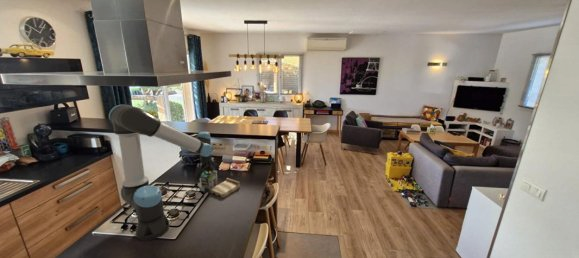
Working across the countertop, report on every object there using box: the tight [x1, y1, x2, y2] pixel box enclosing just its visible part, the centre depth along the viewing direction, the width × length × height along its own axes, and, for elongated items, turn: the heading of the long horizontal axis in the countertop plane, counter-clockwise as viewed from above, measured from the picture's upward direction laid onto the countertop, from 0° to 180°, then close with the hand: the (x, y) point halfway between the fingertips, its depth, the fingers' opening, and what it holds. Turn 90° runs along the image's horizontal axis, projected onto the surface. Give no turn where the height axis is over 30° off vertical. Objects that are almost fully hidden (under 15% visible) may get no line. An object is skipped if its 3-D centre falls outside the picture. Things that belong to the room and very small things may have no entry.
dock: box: [209, 177, 241, 199], centre depth 159 cm, size 16×12×5 cm
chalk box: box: [198, 169, 219, 194], centre depth 159 cm, size 9×9×15 cm
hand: (208, 182), depth 159 cm, fingers open, 13 cm apart
